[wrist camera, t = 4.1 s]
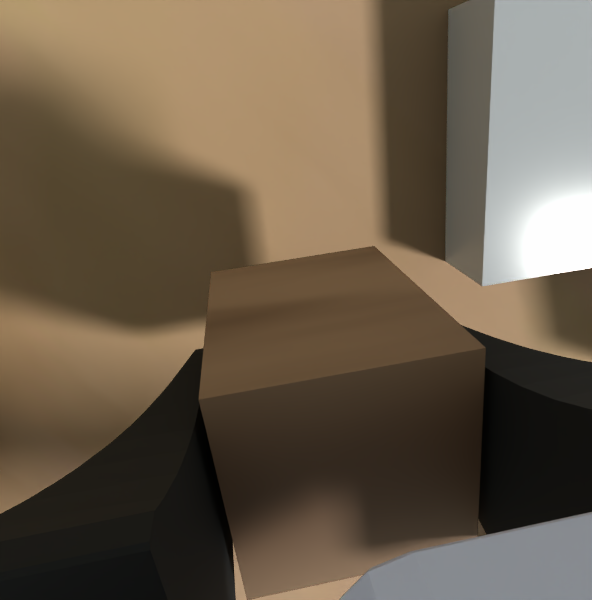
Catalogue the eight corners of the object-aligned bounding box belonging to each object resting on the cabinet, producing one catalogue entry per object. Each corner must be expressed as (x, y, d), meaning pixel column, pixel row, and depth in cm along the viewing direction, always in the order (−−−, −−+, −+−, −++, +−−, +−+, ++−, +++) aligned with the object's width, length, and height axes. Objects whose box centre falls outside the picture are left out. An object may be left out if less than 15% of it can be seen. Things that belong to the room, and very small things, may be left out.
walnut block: (381, 384, 15) (477, 550, 9) (239, 410, 14) (247, 600, 9) (374, 246, 13) (485, 347, 7) (211, 271, 12) (198, 399, 7)
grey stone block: (636, 226, 18) (710, 247, 15) (441, 258, 17) (482, 286, 15) (679, -16, 15) (781, -43, 12) (442, 11, 14) (495, -12, 12)
